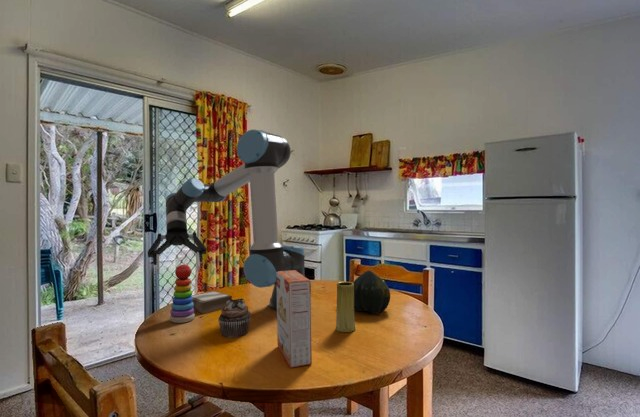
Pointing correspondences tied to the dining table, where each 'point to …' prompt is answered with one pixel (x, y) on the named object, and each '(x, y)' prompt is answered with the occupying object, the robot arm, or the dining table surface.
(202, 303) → the plinth
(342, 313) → the vase
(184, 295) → the stacking toy
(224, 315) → the cupcake
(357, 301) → the squash
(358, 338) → the dining table surface
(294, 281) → the cracker box
